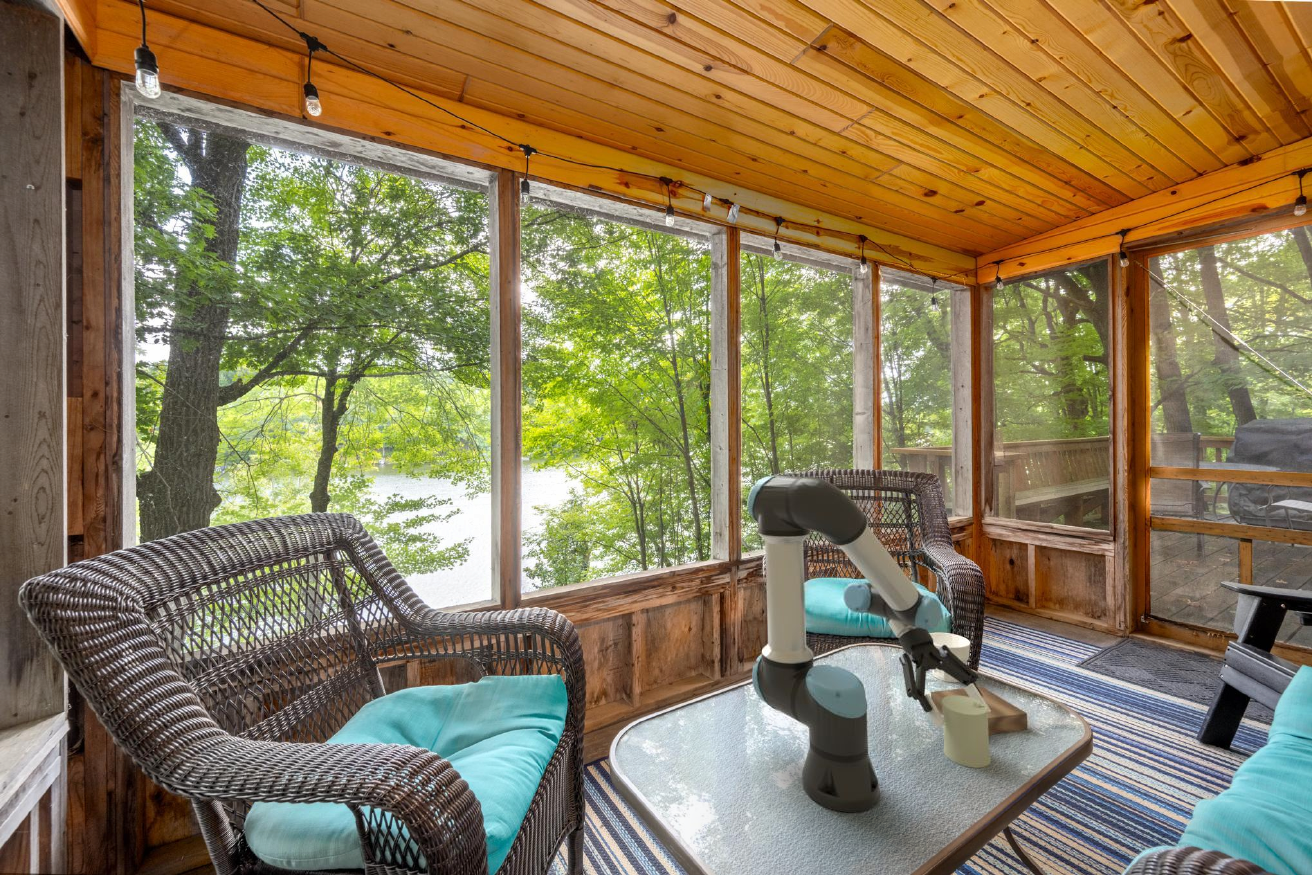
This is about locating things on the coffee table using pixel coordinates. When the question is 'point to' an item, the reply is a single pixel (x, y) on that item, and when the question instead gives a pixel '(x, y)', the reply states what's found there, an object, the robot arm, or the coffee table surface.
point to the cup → (956, 646)
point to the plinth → (1001, 714)
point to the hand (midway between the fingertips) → (964, 719)
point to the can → (966, 731)
